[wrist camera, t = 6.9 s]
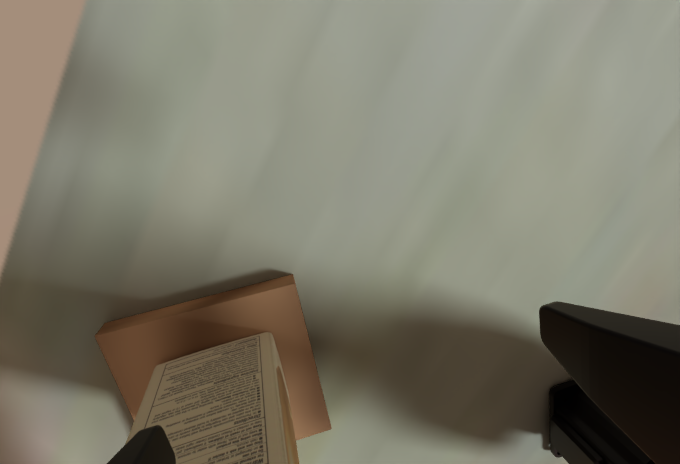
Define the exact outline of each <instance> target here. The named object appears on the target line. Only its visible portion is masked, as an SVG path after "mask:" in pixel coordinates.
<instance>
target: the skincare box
mask: <svg viewBox="0 0 680 464" xmlns="http://www.w3.org/2000/svg"><path fill="white" fill-rule="evenodd" d="M155 425H160V426H161V427H162V428H163V429H164V431H165V433H166V435H167V438H168V440H169V442H170V444H171V446H172V449H173V451H174V453H175V458H176V464H299V459H298V452H297V446H296V439H295V433H294V426H293V420H292V413H291V407H290V401H289V394H288V389H287V385H286V381H285V377H284V373H283V370H282V366H281V362H280V358H279V355H278V351H277V348H276V344H275V341H274V338H273V335H272V334H271V333H270V332H264V333H261V334H257V335H253V336H250V337H246V338H242V339H239V340H235V341H232V342H229V343H226V344H222V345H219V346H216V347H212V348H209V349H206V350H202V351H199V352H196V353H193V354H190V355H187V356H184V357H180V358H177V359H175V360H171V361H168V362H165V363H162V364H159V365H157V366H156V367H155V368H154V371H153V374H152V376H151V379H150V381H149V384H148V387H147V389H146V392H145V395H144V397H143V400H142V402H141V405H140V407H139V410H138V413H137V415H136V418H135V420H134V423H133V426H132V428H131V431H130V434H129V436H128V439H127V441H126V444H127V443H128V441H129V440H130V439H131V438H132V437H133V436H134V435H135V434H136V433H137V432H138V431H140V430H142V429H145V428H148V427H152V426H155ZM126 444H125V445H126Z"/></svg>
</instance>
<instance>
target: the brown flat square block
mask: <svg viewBox="0 0 680 464" xmlns="http://www.w3.org/2000/svg"><path fill="white" fill-rule="evenodd" d="M264 332H270V333H271V334H272V335H273V338H274V341H275V344H276V348H277V351H278V355H279V358H280V362H281V366H282V370H283V373H284V377H285V381H286V385H287V389H288V394H289V401H290V407H291V413H292V420H293V426H294V433H295V439H296V440H299V439H302V438H305V437H308V436H311V435H314V434H317V433H321V432H324V431H327V430H330V429H331V424H330V420H329V416H328V412H327V408H326V404H325V400H324V396H323V392H322V388H321V384H320V380H319V376H318V372H317V368H316V364H315V360H314V356H313V352H312V348H311V344H310V340H309V336H308V332H307V328H306V324H305V320H304V316H303V312H302V308H301V304H300V300H299V297H298V293H297V289H296V285H295V281H294V277H293V274H292V275H288V276H284V277H280V278H276V279H272V280H269V281H265V282H261V283H257V284H253V285H249V286H245V287H242V288H238V289H234V290H230V291H226V292H222V293H218V294H215V295H211V296H207V297H203V298H199V299H195V300H191V301H188V302H184V303H180V304H176V305H172V306H168V307H164V308H161V309H157V310H153V311H149V312H145V313H141V314H137V315H134V316H130V317H126V318H122V319H118V320H114V321H111V322H107V323H104V325H103V326H102V327H101V329H100V330H99V331H98V333H97V334H96V335H95V338H96V340H97V342H98V345H99V347H100V349H101V351H102V353H103V355H104V357H105V360H106V362H107V364H108V366H109V368H110V370H111V372H112V375H113V377H114V379H115V381H116V383H117V385H118V387H119V390H120V392H121V394H122V396H123V398H124V400H125V402H126V404H127V407H128V409H129V411H130V413H131V415H132V417H133V419H134V420H135V418H136V415H137V413H138V410H139V407H140V405H141V402H142V400H143V397H144V395H145V392H146V389H147V387H148V384H149V381H150V379H151V376H152V374H153V371H154V368H155V367H156V366H157V365H159V364H162V363H165V362H168V361H171V360H175V359H177V358H180V357H184V356H187V355H190V354H193V353H196V352H199V351H202V350H206V349H209V348H212V347H216V346H219V345H222V344H226V343H229V342H232V341H235V340H239V339H242V338H246V337H250V336H253V335H257V334H261V333H264Z"/></svg>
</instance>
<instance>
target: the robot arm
mask: <svg viewBox="0 0 680 464" xmlns="http://www.w3.org/2000/svg"><path fill="white" fill-rule="evenodd" d="M539 318H540V334H541V339H542V341H543V343H544V345H545V346H546V347H547V348H548V350H549V351H550V352H551V353H552V354H553V356H554V357H555V358H556V359H557V360H558V361H559V363H560V364H561V365H562V366H563V367H564V369H565V370H566V371H567V372H568V373H569V374H570V376H571V377H572V378H573V379H574V380H572V381H569V382H566V383H563V384H560V385H558V386H555V387H553V388H552V389H551V390H550V393H549V398H550V446H551V452H552V453H553V455H554V456H555V457H562V456H563V458H564V459H565V460H566V461H567V462H568V463H569V464H680V325H676V324H671V323H665V322H660V321H655V320H650V319H645V318H640V317H635V316H630V315H625V314H620V313H614V312H609V311H604V310H599V309H594V308H589V307H584V306H579V305H574V304H569V303H563V302H552V303H549V304H546V305H543V306H541V307H540V310H539ZM107 464H176V458H175V453H174V451H173V449H172V446H171V444H170V442H169V440H168V438H167V435H166V433H165V431H164V429H163V428H162V427H161V426H160V425H155V426H152V427H148V428H145V429H142V430H140V431H138V432H137V433H136V434H135V435H134V436H133V437H132V438H131V439H130V440H129V441H128V443H127V444H126V445H125V446H124V447H123V448H122V449H121V450H120V451H119V452H118V453H117V454H116V455H115V456H114V457H113V458H112V459H111V460H110V461H109V462H108V463H107Z"/></svg>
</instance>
